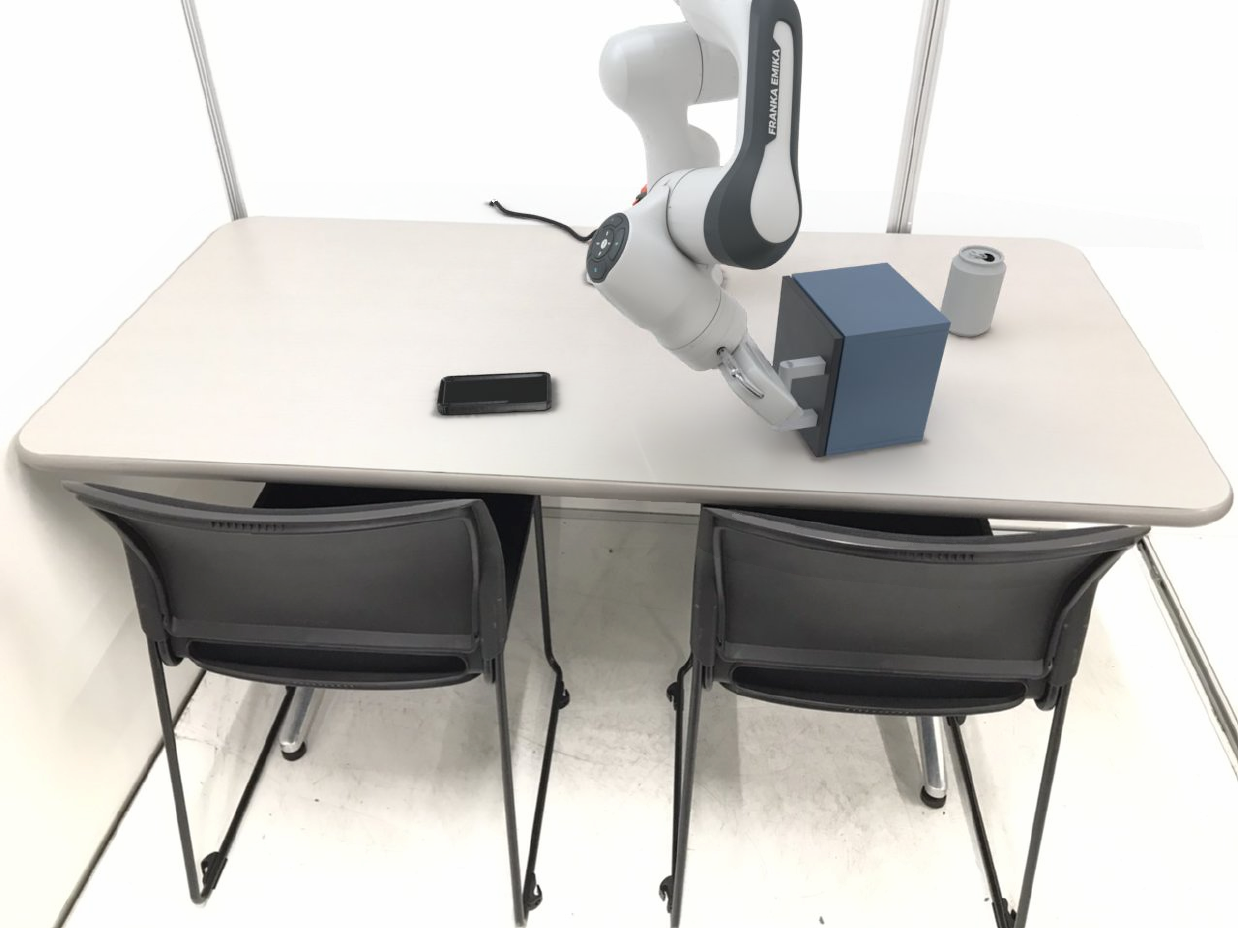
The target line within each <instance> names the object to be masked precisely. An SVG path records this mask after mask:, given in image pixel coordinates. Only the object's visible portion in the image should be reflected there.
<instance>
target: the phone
mask: <svg viewBox="0 0 1238 928" xmlns="http://www.w3.org/2000/svg"><path fill="white" fill-rule="evenodd" d="M436 401H437V402H436V406H437V411H438V413H439V414H442V415H465V414H485V413H509V412H528V411H529V412H530V411H545V410H546V411H547V410H548V409H550V408H551V407H552V377H551V374H550V373H549V372H547V371H528V372H507V373H506V372H503V373H501V372H500V373H484V374H483V373H481V374H479V373H478V374H459V375H458V374H457V375H446V376H443V377H442V378H441V379H440V382H439V388H438V395H437V400H436Z"/></svg>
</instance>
